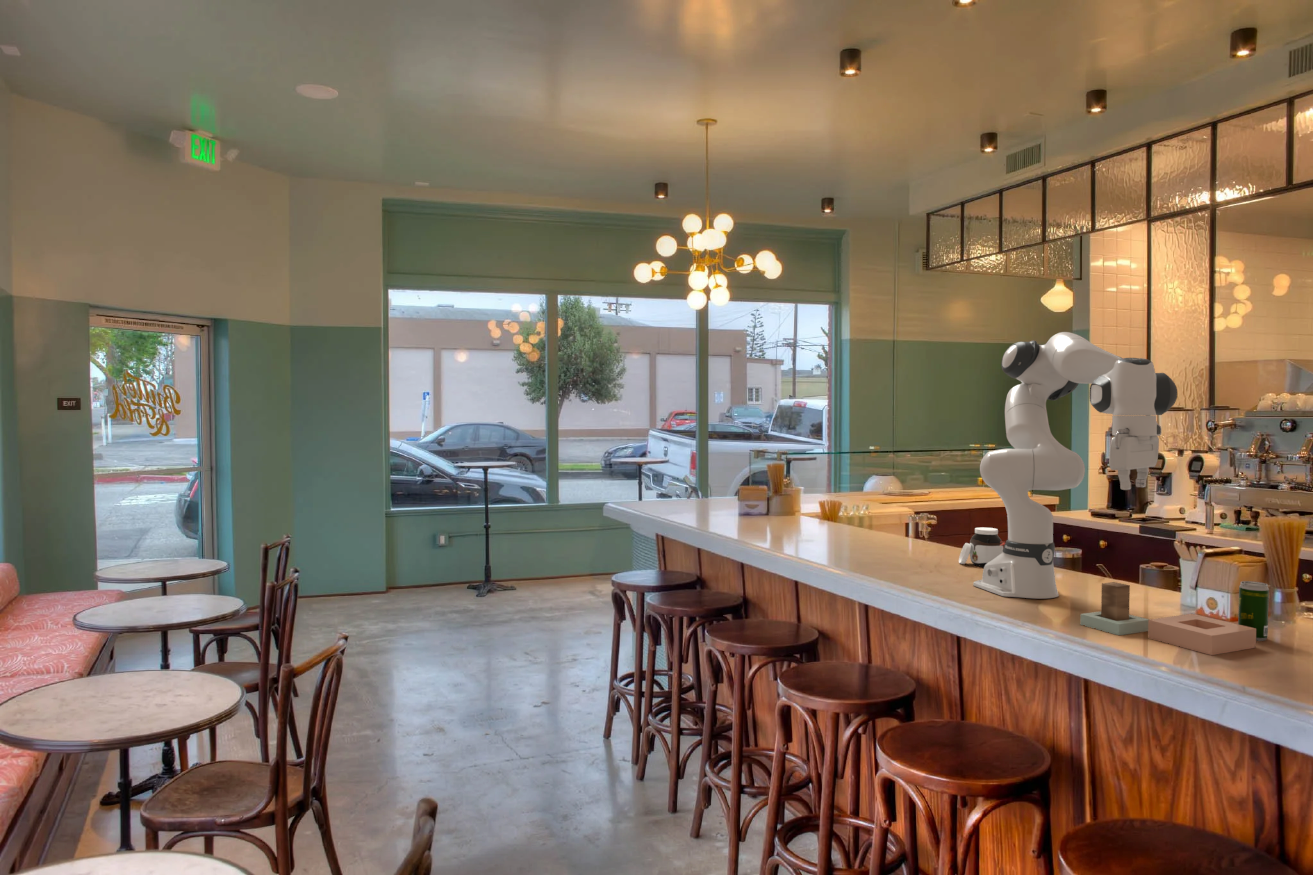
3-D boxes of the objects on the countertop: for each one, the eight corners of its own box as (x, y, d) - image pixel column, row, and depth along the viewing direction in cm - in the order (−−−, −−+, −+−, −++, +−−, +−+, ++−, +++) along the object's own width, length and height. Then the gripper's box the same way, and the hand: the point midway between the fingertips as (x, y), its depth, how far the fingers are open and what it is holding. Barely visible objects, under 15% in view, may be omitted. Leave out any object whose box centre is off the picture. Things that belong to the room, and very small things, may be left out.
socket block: (1148, 637, 188) (1148, 619, 187) (1191, 631, 193) (1191, 613, 193) (1211, 655, 175) (1211, 635, 175) (1255, 647, 180) (1256, 628, 180)
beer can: (1269, 637, 188) (1271, 583, 187) (1265, 642, 184) (1267, 587, 183) (1240, 633, 192) (1241, 579, 191) (1235, 638, 188) (1237, 583, 187)
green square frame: (1080, 624, 199) (1080, 613, 199) (1111, 620, 203) (1111, 609, 203) (1118, 635, 190) (1119, 624, 190) (1150, 630, 194) (1150, 619, 194)
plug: (1100, 626, 197) (1101, 583, 197) (1113, 624, 199) (1114, 581, 199) (1116, 630, 194) (1117, 586, 193) (1128, 628, 195) (1129, 585, 195)
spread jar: (1006, 567, 268) (1007, 530, 268) (974, 569, 265) (975, 532, 265) (983, 561, 280) (983, 525, 279) (952, 562, 277) (952, 526, 276)
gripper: (1132, 429, 188) (1131, 492, 189) (1164, 427, 202) (1163, 486, 202) (1101, 428, 193) (1101, 490, 193) (1135, 427, 207) (1134, 484, 207)
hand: (1133, 488), depth 198 cm, fingers open, 8 cm apart
